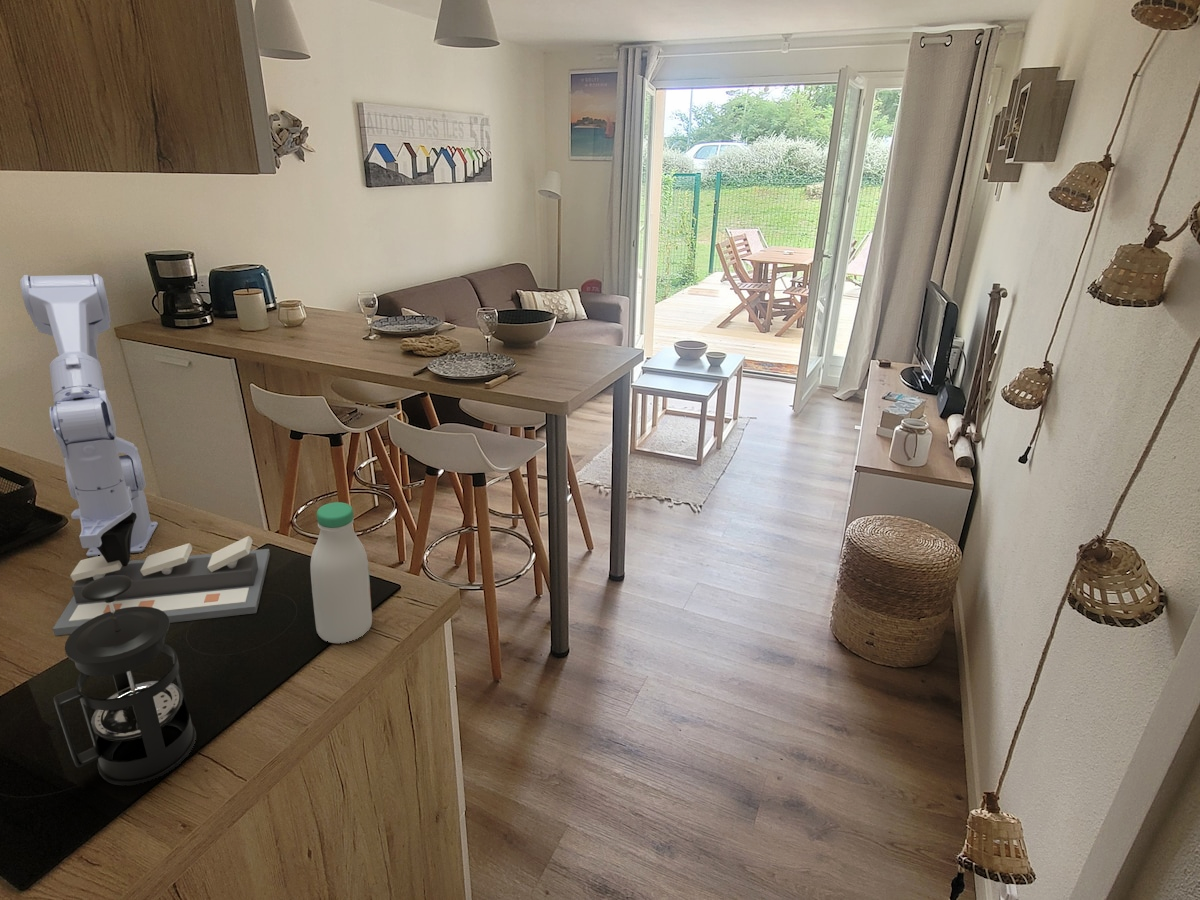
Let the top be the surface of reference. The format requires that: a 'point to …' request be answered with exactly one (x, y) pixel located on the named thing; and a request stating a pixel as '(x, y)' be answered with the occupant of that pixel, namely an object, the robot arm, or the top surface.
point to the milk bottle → (340, 577)
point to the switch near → (94, 568)
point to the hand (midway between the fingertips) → (120, 564)
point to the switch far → (230, 554)
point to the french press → (127, 688)
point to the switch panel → (178, 591)
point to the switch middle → (166, 560)
